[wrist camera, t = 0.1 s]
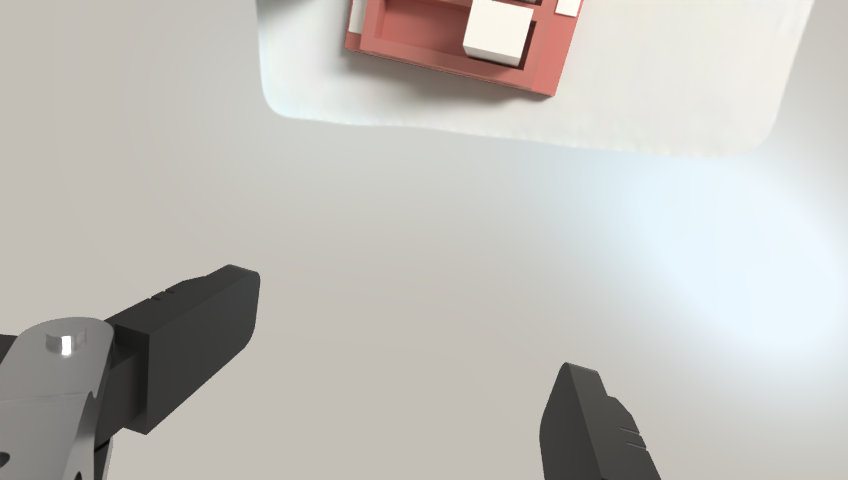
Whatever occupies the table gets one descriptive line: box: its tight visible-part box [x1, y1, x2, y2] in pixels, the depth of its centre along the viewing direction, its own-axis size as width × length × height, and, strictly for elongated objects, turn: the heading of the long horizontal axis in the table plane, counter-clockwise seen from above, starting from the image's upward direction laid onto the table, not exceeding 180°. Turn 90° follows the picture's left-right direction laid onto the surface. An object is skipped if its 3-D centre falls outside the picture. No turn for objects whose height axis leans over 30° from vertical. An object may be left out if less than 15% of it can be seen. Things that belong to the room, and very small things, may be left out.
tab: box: [463, 0, 534, 69], centre depth 31 cm, size 3×4×6 cm
